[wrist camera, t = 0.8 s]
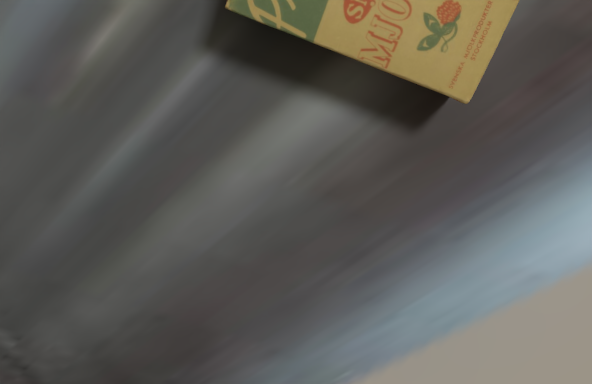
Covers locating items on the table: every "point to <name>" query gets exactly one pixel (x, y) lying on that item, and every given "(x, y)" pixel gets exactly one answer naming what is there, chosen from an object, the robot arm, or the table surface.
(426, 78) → the carton
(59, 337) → the table surface
